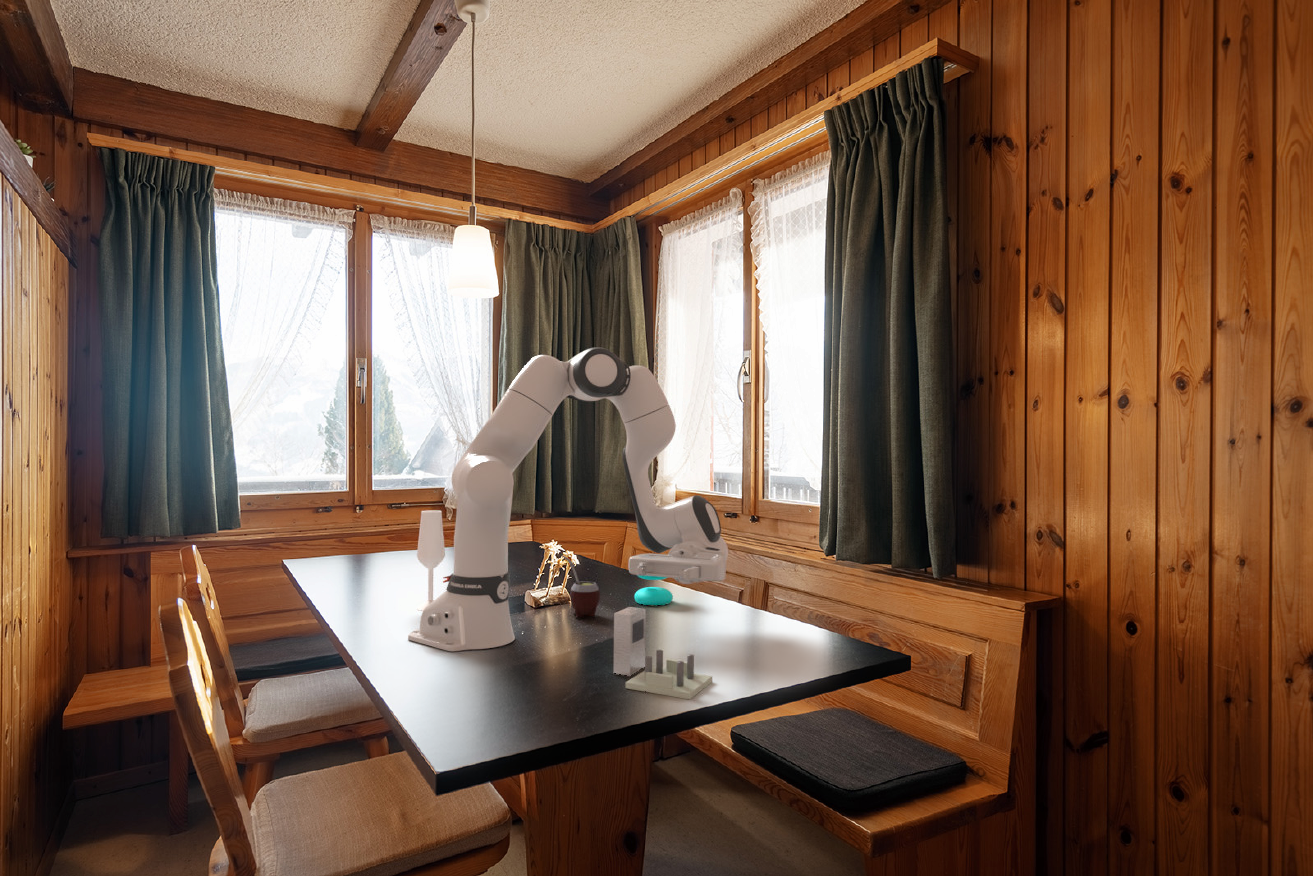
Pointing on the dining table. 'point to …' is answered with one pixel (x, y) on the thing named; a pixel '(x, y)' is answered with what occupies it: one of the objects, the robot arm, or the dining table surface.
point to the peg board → (670, 678)
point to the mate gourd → (584, 596)
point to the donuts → (653, 593)
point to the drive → (629, 640)
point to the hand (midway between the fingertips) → (660, 573)
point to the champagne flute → (430, 547)
